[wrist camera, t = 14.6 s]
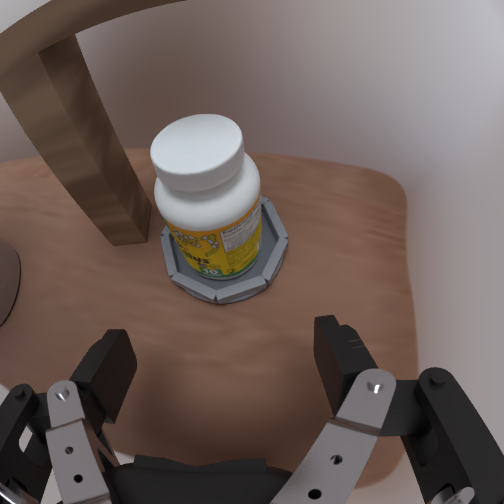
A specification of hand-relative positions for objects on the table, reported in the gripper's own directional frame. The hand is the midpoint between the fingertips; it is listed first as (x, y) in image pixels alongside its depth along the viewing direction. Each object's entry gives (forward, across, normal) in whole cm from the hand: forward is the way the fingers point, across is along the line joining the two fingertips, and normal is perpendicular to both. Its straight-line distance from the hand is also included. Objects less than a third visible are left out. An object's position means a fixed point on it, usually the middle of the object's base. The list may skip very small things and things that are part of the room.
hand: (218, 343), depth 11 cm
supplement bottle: (+10, 0, -1) cm, 10 cm away
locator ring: (+10, 0, -1) cm, 10 cm away
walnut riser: (+12, +3, -3) cm, 13 cm away
